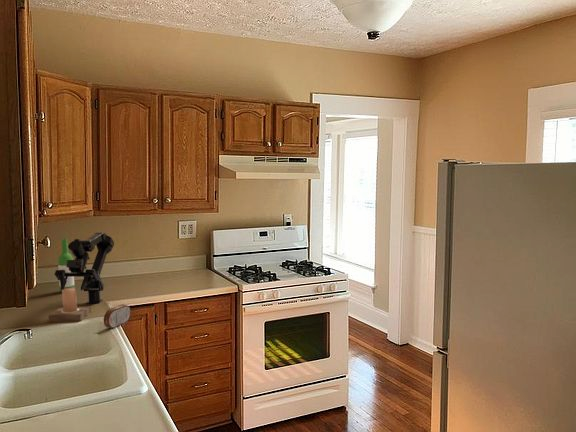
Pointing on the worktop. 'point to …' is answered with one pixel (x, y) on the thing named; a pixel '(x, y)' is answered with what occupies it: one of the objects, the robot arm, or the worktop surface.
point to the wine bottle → (63, 262)
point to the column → (69, 299)
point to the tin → (117, 316)
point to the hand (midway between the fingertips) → (71, 290)
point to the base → (69, 315)
